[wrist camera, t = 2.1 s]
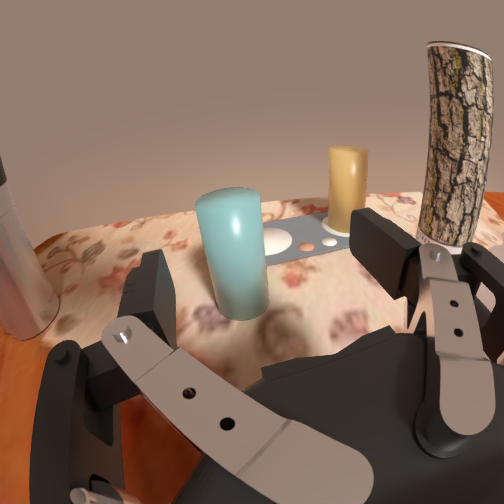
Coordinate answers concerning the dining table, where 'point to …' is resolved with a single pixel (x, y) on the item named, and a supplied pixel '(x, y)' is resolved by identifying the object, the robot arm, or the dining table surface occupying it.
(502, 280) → the robot arm
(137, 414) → the dining table surface
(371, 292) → the dining table surface
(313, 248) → the card
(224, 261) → the teal tube
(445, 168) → the wooden log
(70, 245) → the dining table surface
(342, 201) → the amber tube
